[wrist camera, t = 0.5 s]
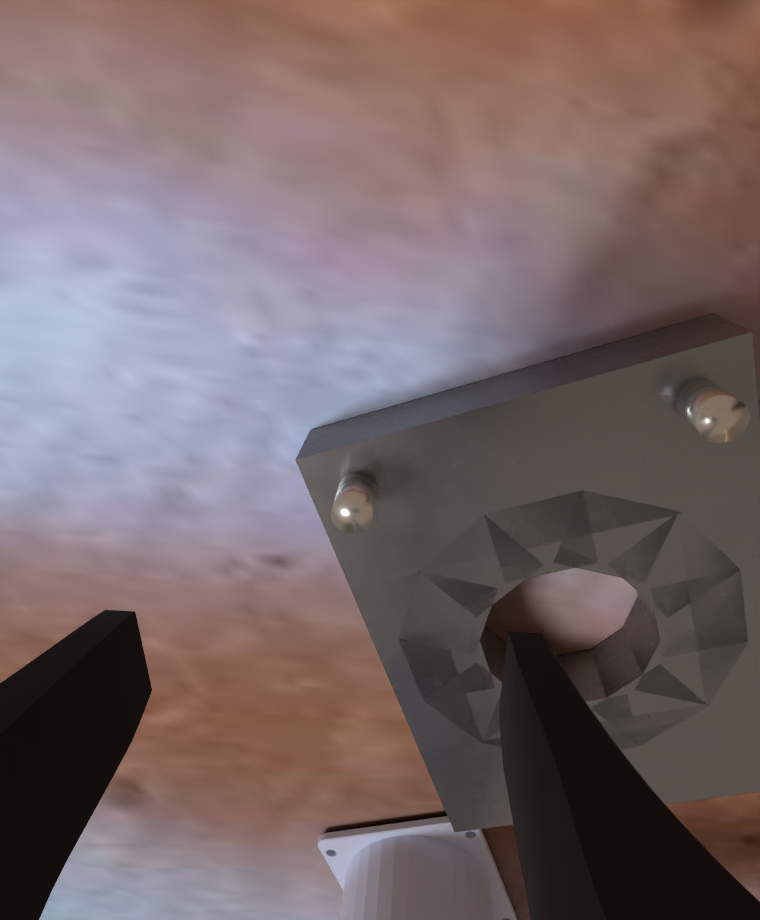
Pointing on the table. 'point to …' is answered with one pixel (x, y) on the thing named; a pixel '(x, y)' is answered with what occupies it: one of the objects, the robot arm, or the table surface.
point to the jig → (566, 552)
